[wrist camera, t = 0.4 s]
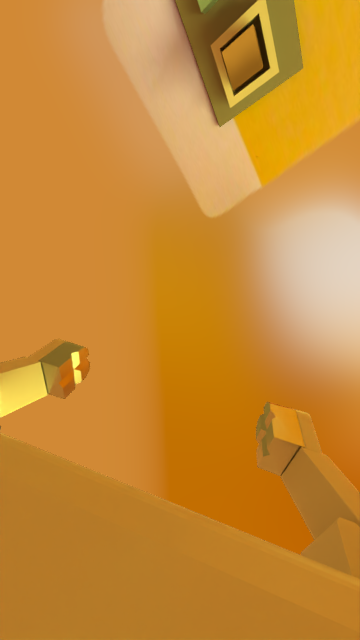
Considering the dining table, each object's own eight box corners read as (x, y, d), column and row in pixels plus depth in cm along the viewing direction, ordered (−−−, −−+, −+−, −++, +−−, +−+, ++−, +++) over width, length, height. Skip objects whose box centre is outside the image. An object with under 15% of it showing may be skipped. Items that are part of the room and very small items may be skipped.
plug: (229, 51, 34) (221, 52, 28) (255, 28, 32) (252, 24, 26) (238, 83, 36) (233, 90, 30) (263, 64, 34) (262, 68, 28)
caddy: (153, -65, 29) (140, -78, 26) (261, -226, 21) (260, -272, 18) (220, 126, 42) (216, 132, 39) (302, 67, 34) (306, 69, 31)
